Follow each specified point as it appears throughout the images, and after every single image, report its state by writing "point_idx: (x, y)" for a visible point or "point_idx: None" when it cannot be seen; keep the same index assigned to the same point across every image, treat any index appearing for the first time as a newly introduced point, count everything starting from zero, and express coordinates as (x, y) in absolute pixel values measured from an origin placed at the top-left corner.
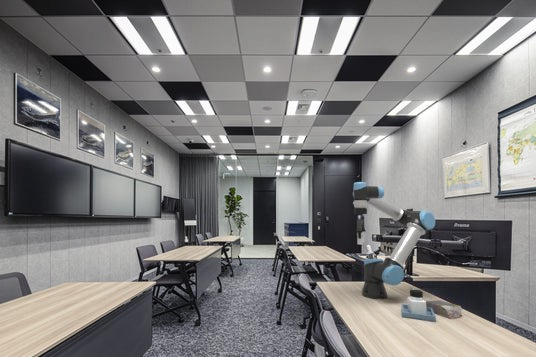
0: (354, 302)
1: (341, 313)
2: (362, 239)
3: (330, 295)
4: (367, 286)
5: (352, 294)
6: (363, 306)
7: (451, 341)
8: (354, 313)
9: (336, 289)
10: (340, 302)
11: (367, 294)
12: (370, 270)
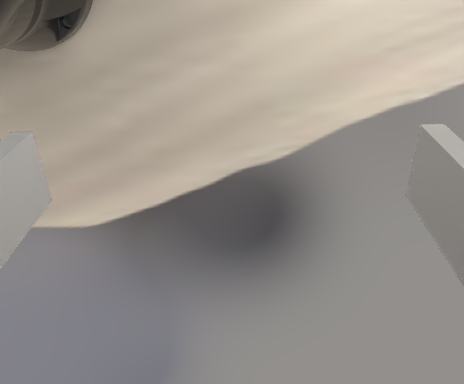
0: (228, 63)
1: (427, 92)
2: (18, 190)
3: (170, 187)
4: (53, 16)
5: (83, 96)
6: (277, 7)
7: None
8: (410, 35)
9: None
10: (261, 126)
11: (85, 9)
12: (16, 3)
